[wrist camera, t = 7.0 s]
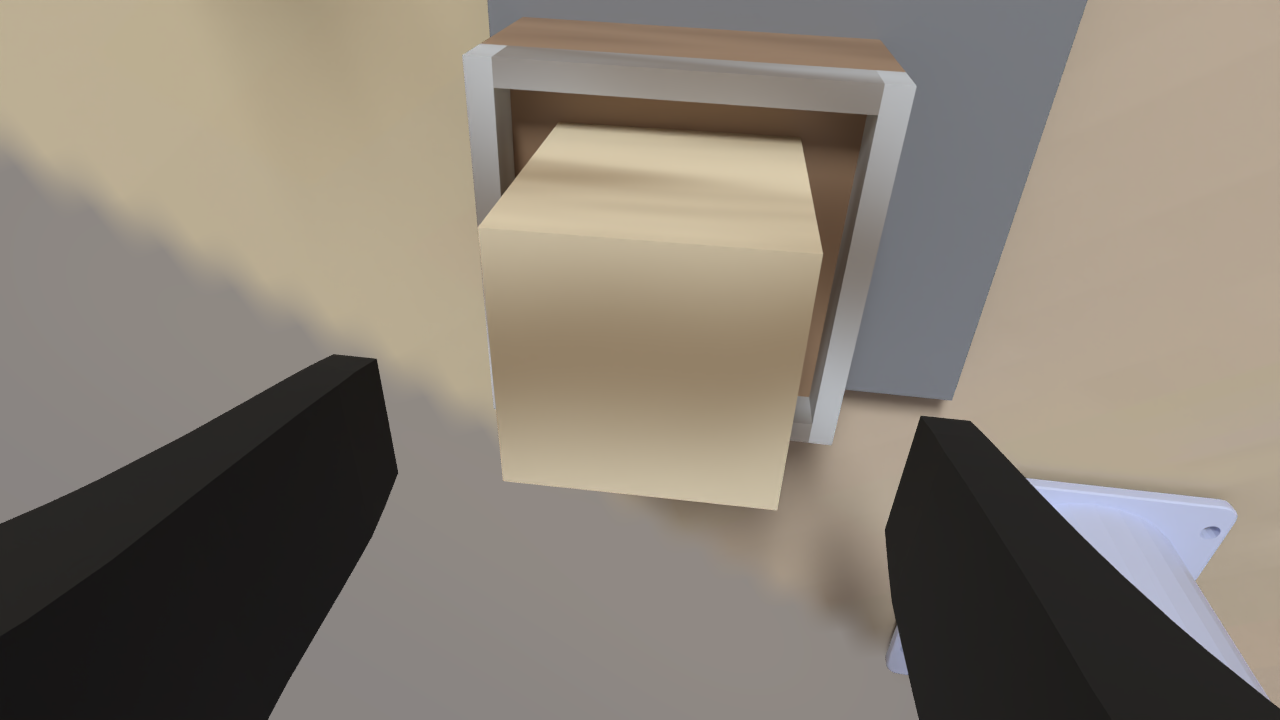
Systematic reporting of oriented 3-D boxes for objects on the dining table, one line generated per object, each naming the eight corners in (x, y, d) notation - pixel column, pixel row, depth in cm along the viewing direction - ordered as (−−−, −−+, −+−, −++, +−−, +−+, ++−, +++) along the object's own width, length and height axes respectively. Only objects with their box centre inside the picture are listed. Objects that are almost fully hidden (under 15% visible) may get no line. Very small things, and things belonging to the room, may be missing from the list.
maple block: (769, 345, 16) (777, 510, 12) (565, 327, 16) (502, 480, 12) (800, 137, 14) (823, 254, 9) (558, 122, 14) (477, 227, 10)
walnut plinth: (817, 347, 19) (831, 444, 16) (536, 319, 20) (494, 408, 17) (880, 40, 15) (916, 86, 12) (522, 16, 16) (462, 54, 12)
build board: (943, 379, 21) (951, 400, 20) (521, 336, 22) (511, 355, 21) (1277, -649, 11) (1322, -693, 10) (462, -641, 12) (441, -680, 11)
